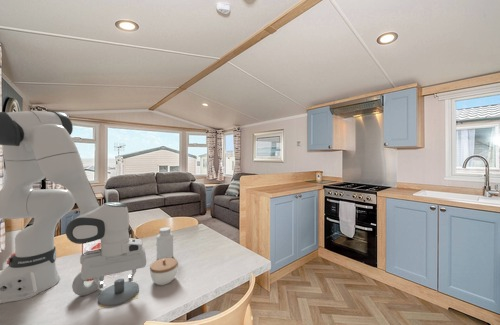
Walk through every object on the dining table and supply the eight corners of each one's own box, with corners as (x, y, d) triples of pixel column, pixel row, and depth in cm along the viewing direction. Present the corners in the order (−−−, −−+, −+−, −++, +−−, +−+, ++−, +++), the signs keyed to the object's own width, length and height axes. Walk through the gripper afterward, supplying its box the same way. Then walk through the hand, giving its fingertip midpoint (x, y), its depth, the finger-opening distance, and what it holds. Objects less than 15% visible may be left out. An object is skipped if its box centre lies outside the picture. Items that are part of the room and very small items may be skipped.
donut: (102, 286, 87) (102, 261, 86) (105, 289, 85) (105, 264, 84) (71, 298, 79) (70, 271, 79) (73, 302, 77) (73, 275, 77)
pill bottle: (162, 262, 106) (161, 232, 106) (153, 257, 111) (153, 229, 111) (176, 256, 112) (176, 228, 112) (167, 252, 117) (167, 225, 117)
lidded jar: (144, 286, 86) (143, 263, 86) (162, 273, 97) (162, 252, 96) (166, 292, 83) (166, 268, 83) (182, 277, 93) (182, 255, 93)
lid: (96, 311, 72) (96, 296, 72) (100, 290, 83) (99, 277, 83) (139, 298, 79) (139, 284, 78) (137, 280, 90) (137, 268, 90)
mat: (98, 311, 73) (98, 309, 73) (101, 291, 83) (101, 290, 83) (138, 299, 79) (138, 297, 79) (136, 282, 89) (136, 281, 89)
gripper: (77, 256, 71) (78, 297, 71) (146, 244, 80) (146, 281, 81) (82, 249, 77) (82, 287, 77) (145, 239, 86) (146, 273, 86)
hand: (116, 284), depth 79 cm, fingers open, 8 cm apart
